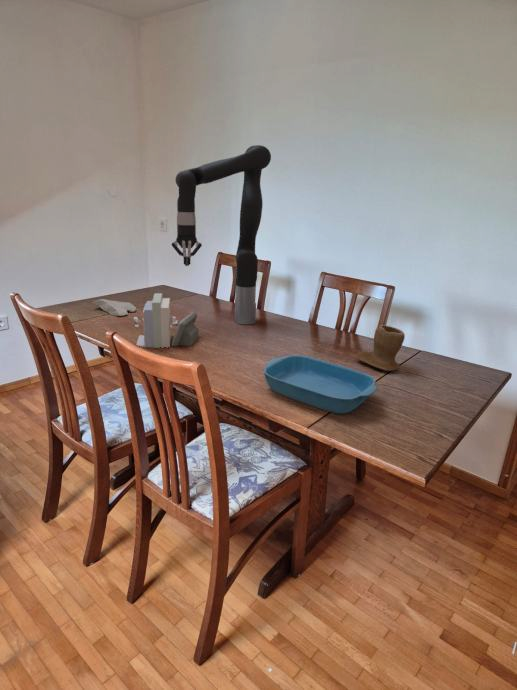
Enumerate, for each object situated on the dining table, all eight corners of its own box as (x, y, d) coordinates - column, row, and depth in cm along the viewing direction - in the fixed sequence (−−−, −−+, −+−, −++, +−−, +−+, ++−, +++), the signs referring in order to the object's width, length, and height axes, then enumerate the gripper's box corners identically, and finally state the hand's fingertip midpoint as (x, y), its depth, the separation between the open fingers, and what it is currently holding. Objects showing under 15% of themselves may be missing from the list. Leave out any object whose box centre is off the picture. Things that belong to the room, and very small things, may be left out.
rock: (118, 304, 228) (91, 306, 217) (119, 295, 227) (91, 297, 216) (143, 316, 216) (116, 319, 205) (144, 307, 215) (116, 310, 204)
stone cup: (406, 368, 164) (413, 329, 158) (386, 375, 157) (392, 335, 152) (373, 355, 175) (378, 318, 170) (353, 361, 168) (357, 323, 163)
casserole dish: (249, 388, 144) (250, 368, 141) (287, 367, 161) (289, 349, 158) (354, 428, 123) (357, 405, 121) (385, 399, 140) (389, 378, 138)
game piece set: (124, 328, 194) (124, 319, 193) (149, 315, 212) (149, 308, 211) (164, 334, 189) (164, 325, 187) (186, 321, 207) (186, 313, 205)
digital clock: (187, 334, 189) (186, 309, 186) (205, 337, 186) (205, 313, 182) (164, 345, 176) (163, 320, 172) (184, 350, 172) (183, 323, 168)
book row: (171, 335, 187) (169, 293, 180) (169, 347, 174) (168, 302, 167) (139, 335, 185) (137, 293, 178) (135, 348, 172) (133, 302, 165)
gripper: (202, 222, 188) (202, 264, 194) (170, 222, 186) (171, 263, 192) (202, 224, 181) (203, 267, 187) (169, 223, 179) (170, 267, 185)
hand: (187, 265), depth 189 cm, fingers closed
